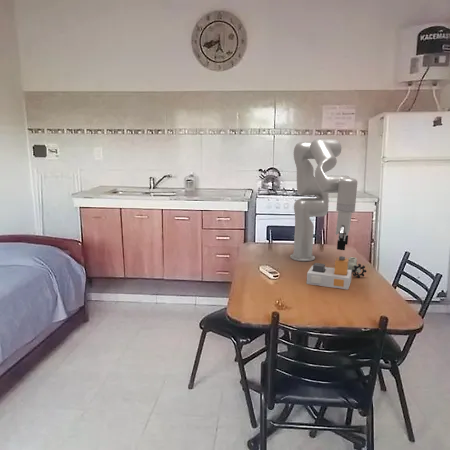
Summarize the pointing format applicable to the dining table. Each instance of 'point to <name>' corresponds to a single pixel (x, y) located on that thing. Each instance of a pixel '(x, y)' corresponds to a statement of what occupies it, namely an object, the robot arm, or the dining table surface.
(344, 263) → the lockout cap
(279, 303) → the dining table surface
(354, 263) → the valve
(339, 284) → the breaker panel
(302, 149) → the robot arm
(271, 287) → the dining table surface
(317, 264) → the breaker
